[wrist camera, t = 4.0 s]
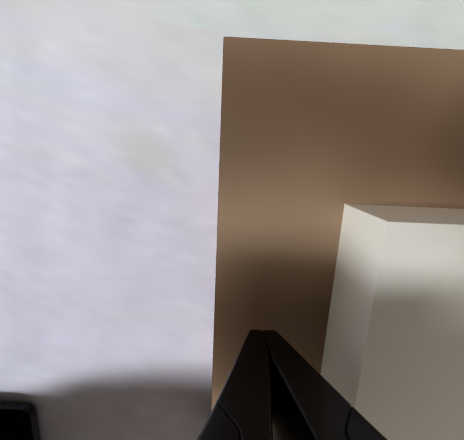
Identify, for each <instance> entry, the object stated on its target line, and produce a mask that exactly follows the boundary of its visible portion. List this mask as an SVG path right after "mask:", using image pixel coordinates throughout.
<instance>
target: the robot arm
mask: <svg viewBox="0 0 464 440" xmlns="http://www.w3.org/2000/svg"><path fill="white" fill-rule="evenodd" d="M0 440H40V437H39V431H38V424H37V417H36V411H35V408H34V407H33V406H32V405H31V404H29V403H13V402H0ZM197 440H388V439H387V438H385V437H384V436H383V435H382V434H381V433H380V432H379V431H378V430H377V429H376V428H375V427H374V426H373V425H372V424H370V423H369V422H368V421H367V420H366V419H365V418H364V417H363V416H362V415H361V414H360V413H359V412H358V411H357V410H356V409H355V408H354V407H351V404H350V403H349V402H348V401H347V400H346V399H345V398H344V397H343V396H342V395H341V394H340V393H339V392H338V391H337V390H336V389H335V388H334V387H333V386H332V385H331V384H330V383H329V382H328V381H327V380H326V379H325V378H324V377H323V376H322V375H321V374H320V373H319V372H318V371H317V370H316V369H315V368H314V367H313V366H312V365H311V364H310V363H309V362H308V361H307V360H305V359H304V358H303V357H302V356H301V355H300V354H299V353H298V352H297V351H296V350H295V349H294V348H293V347H292V346H291V345H290V344H289V343H288V342H287V341H286V340H285V339H284V338H283V337H282V336H281V335H280V334H279V333H278V332H277V331H276V330H264V331H262V330H257V329H251V330H250V331H249V332H248V335H247V337H246V339H245V341H244V343H243V345H242V347H241V350H240V352H239V354H238V356H237V358H236V360H235V362H234V365H233V367H232V369H231V371H230V373H229V375H228V377H227V380H226V382H225V384H224V386H223V388H222V390H221V393H220V395H219V397H218V399H217V401H216V404H215V405H214V407H213V409H212V411H211V414H210V416H209V418H208V420H207V422H206V424H205V425H204V427H203V429H202V431H201V433H200V435H199V436H198V438H197Z"/></svg>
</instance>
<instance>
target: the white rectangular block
mask: <svg viewBox="0 0 464 440" xmlns="http://www.w3.org/2000/svg"><path fill="white" fill-rule="evenodd" d="M321 375H322V376H323V377H324V378H325V379H326V380H327V381H328V382H329V383H330V384H331V385H332V386H333V387H334V388H335V389H336V390H337V391H338V392H339V393H340V394H341V395H342V396H343V397H344V398H345V399H346V400H347V401H348V402H349V403H350V404H351V407H354V408H355V409H356V410H357V411H358V412H359V413H360V414H361V415H362V416H363V417H364V418H365V419H366V420H367V421H368V422H369V423H370V424H372V425H373V426H374V427H375V428H376V429H377V430H378V431H379V432H380V433H381V434H382V435H383V436H384V437H385V438H387V439H388V440H464V209H456V208H432V207H408V206H384V205H361V204H344V211H343V218H342V225H341V232H340V240H339V247H338V254H337V261H336V268H335V275H334V282H333V289H332V296H331V303H330V310H329V317H328V324H327V331H326V338H325V345H324V352H323V359H322V367H321Z"/></svg>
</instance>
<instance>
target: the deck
mask: <svg viewBox="0 0 464 440" xmlns="http://www.w3.org/2000/svg"><path fill="white" fill-rule="evenodd" d="M344 204H361V205H384V206H408V207H432V208H456V209H464V50H453V49H435V48H418V47H400V46H382V45H364V44H346V43H328V42H310V41H293V40H275V39H257V38H239V37H224V42H223V72H222V102H221V132H220V162H219V192H218V222H217V253H216V283H215V313H214V343H213V373H212V403H211V411H212V409H213V407H214V405H215V404H216V401H217V399H218V397H219V395H220V393H221V390H222V388H223V386H224V384H225V382H226V380H227V377H228V375H229V373H230V371H231V369H232V367H233V365H234V362H235V360H236V358H237V356H238V354H239V352H240V350H241V347H242V345H243V343H244V341H245V339H246V337H247V335H248V332H249V331H250V330H251V329H257V330H262V331H264V330H276V331H277V332H278V333H279V334H280V335H281V336H282V337H283V338H284V339H285V340H286V341H287V342H288V343H289V344H290V345H291V346H292V347H293V348H294V349H295V350H296V351H297V352H298V353H299V354H300V355H301V356H302V357H303V358H304V359H305V360H307V361H308V362H309V363H310V364H311V365H312V366H313V367H314V368H315V369H316V370H317V371H318V372H319V373H320V374H321V367H322V359H323V352H324V345H325V338H326V331H327V324H328V317H329V310H330V303H331V296H332V289H333V282H334V275H335V268H336V261H337V254H338V247H339V240H340V232H341V225H342V218H343V211H344Z"/></svg>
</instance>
